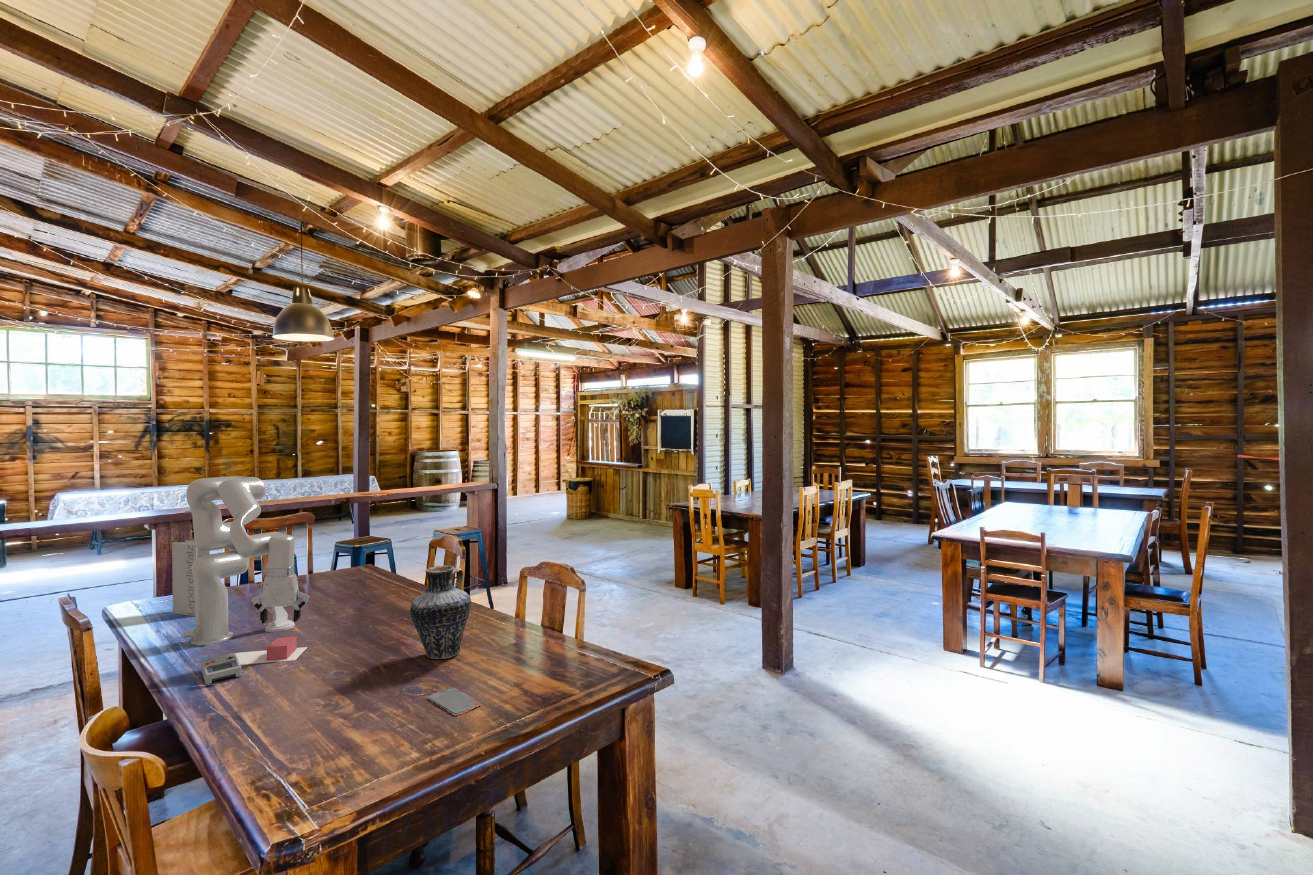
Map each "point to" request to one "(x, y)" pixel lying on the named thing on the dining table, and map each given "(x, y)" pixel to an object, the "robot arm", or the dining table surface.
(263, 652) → the mat
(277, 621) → the chess piece
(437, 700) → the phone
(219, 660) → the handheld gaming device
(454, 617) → the jug
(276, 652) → the card box
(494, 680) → the dining table surface
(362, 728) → the dining table surface
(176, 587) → the brochure
